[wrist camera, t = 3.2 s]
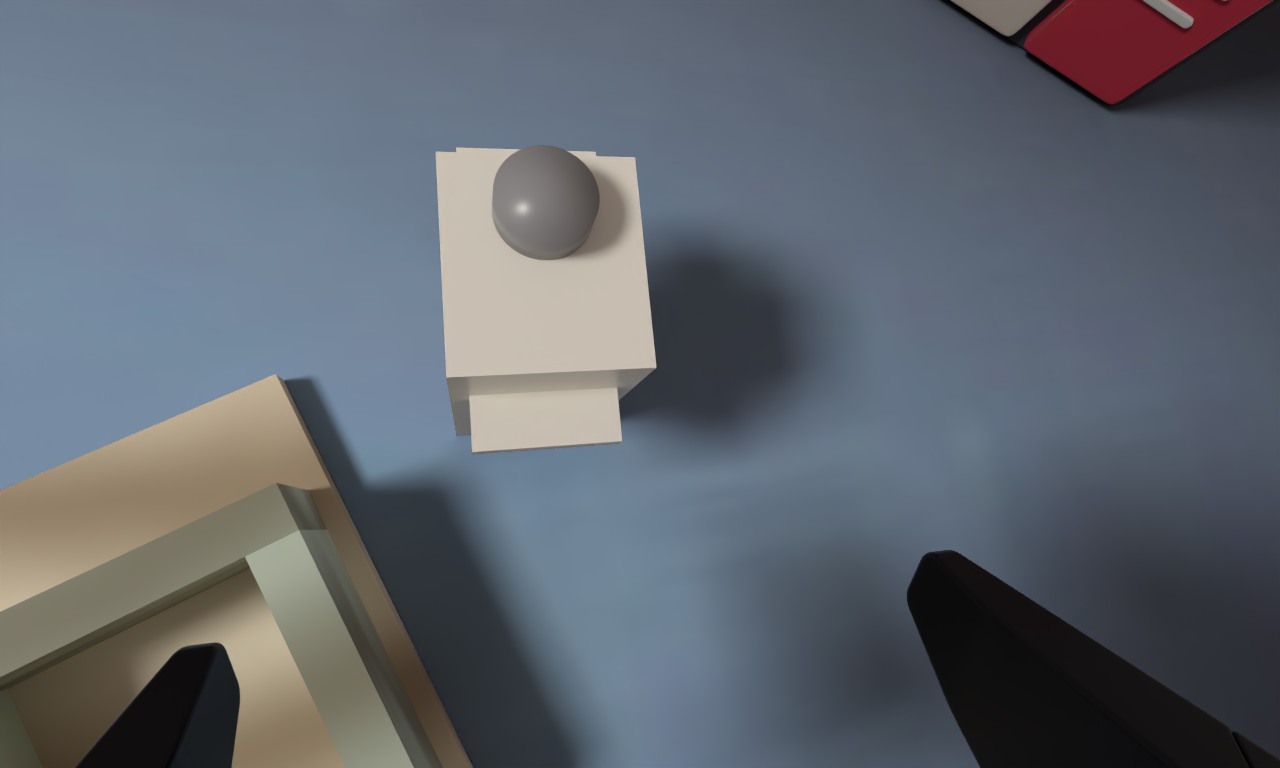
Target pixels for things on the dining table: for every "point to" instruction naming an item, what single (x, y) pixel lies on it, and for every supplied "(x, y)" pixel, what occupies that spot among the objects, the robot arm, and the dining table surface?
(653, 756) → the dining table surface
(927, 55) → the dining table surface
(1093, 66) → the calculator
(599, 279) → the block
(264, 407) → the plate
